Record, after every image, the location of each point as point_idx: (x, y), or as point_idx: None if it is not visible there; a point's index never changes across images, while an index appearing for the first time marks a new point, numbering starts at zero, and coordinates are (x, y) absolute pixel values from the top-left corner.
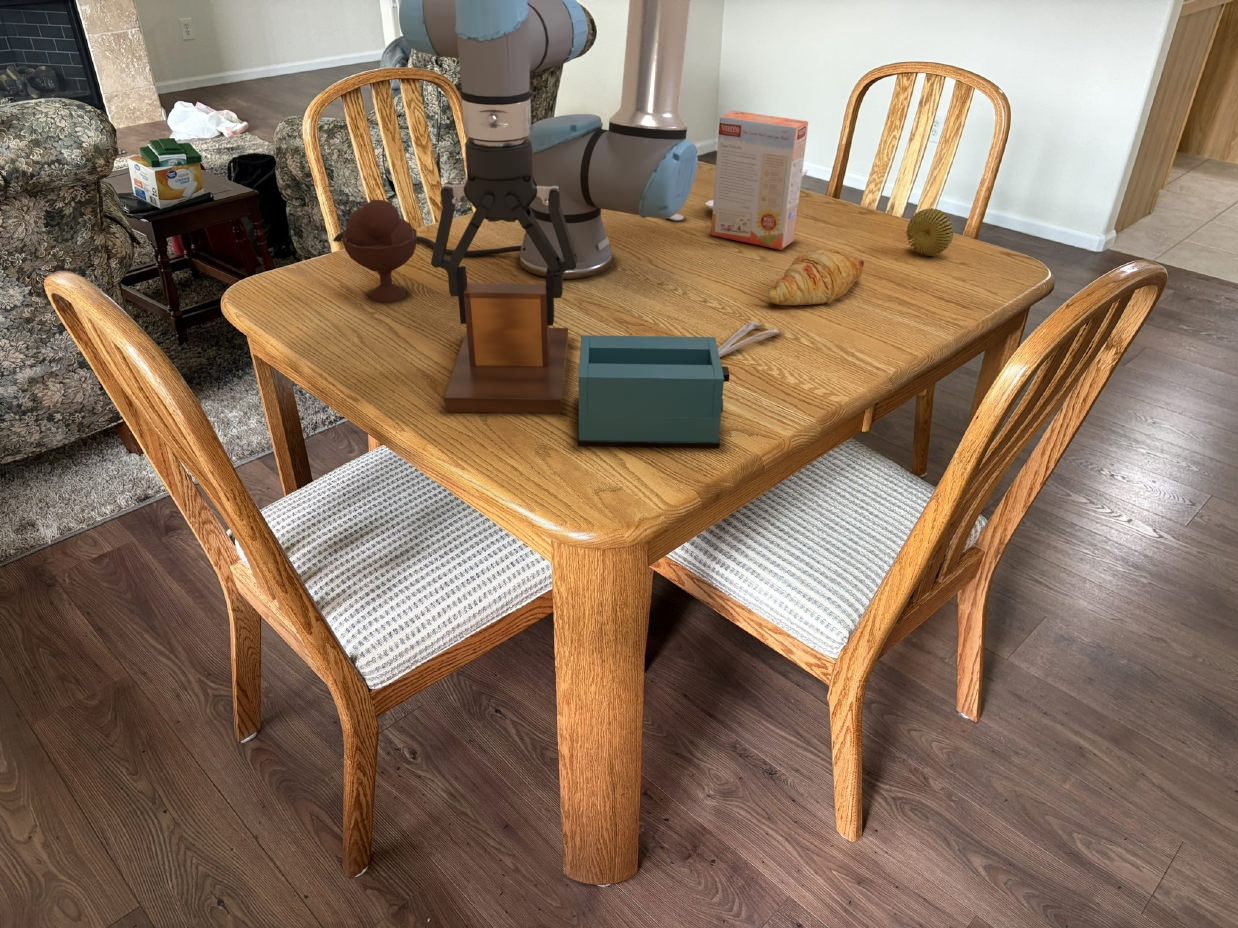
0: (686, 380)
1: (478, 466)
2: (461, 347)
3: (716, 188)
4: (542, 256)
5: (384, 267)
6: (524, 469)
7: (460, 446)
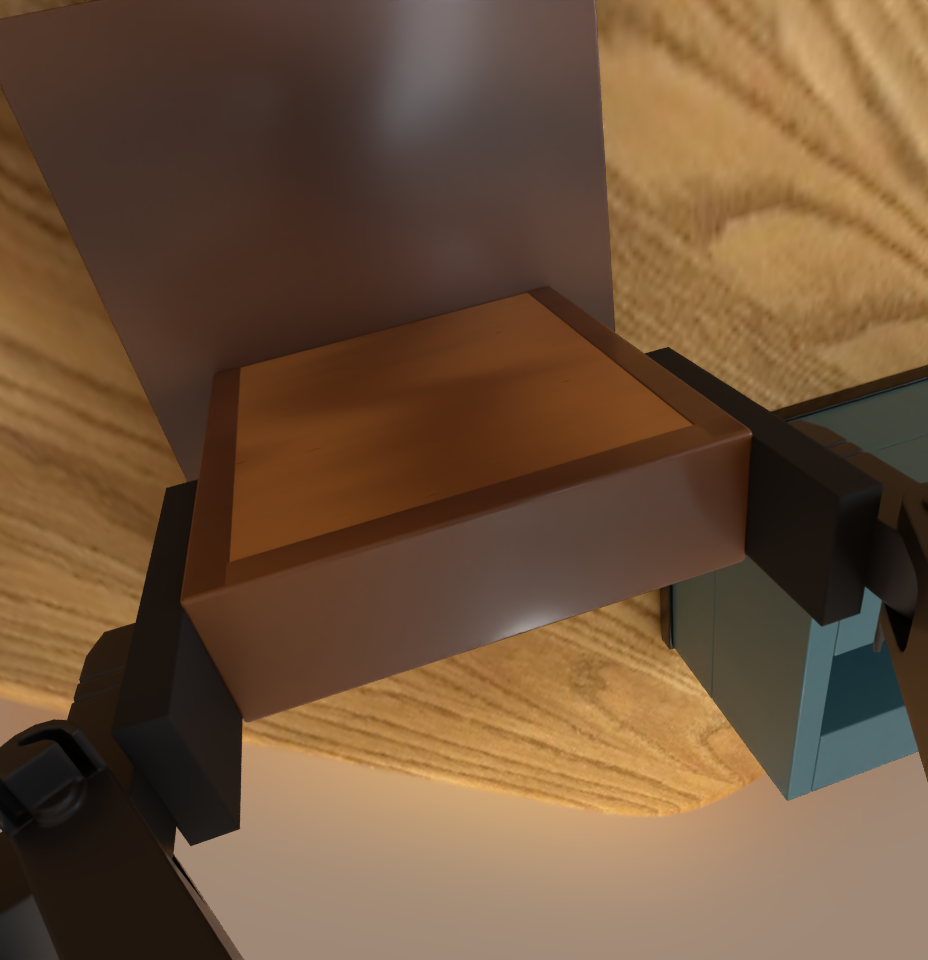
0: None
1: (461, 767)
2: (113, 317)
3: None
4: (920, 739)
5: None
6: (559, 739)
7: (391, 732)
